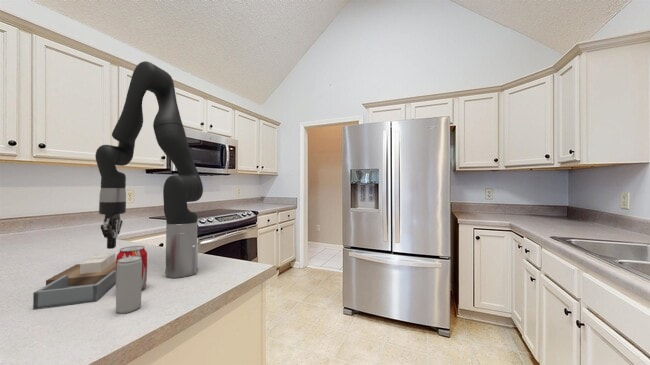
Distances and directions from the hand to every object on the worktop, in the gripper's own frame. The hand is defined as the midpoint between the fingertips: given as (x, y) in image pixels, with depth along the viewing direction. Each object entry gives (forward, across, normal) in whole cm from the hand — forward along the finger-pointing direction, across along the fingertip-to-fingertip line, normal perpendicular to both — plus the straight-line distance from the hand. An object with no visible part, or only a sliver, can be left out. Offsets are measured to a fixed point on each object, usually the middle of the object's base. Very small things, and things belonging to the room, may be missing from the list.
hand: (111, 248), depth 93 cm
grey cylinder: (+6, -41, -17) cm, 45 cm away
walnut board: (+7, -12, 0) cm, 14 cm away
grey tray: (+7, -26, -2) cm, 27 cm away
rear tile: (+4, -8, 0) cm, 9 cm away
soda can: (+7, -28, -14) cm, 32 cm away
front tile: (+4, -14, 0) cm, 14 cm away
